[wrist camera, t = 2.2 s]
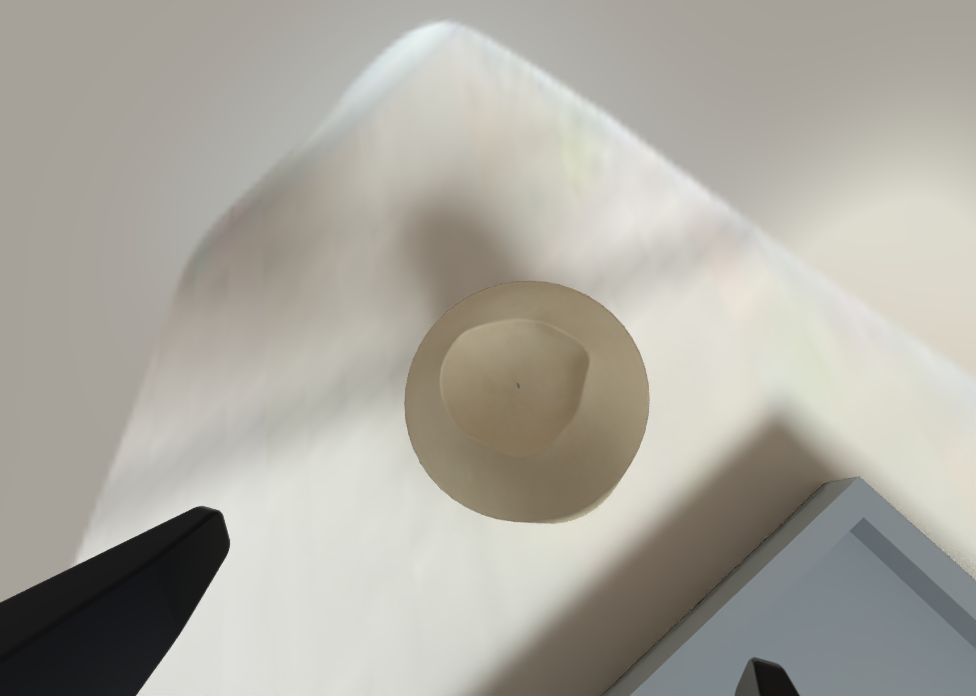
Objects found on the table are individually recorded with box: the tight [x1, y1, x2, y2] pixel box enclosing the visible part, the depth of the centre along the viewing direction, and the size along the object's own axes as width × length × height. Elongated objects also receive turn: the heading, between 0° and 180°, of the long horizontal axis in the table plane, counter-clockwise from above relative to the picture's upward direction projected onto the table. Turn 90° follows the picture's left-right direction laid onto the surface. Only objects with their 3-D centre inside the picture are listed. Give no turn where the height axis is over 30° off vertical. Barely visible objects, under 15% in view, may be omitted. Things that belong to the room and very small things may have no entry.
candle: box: [405, 281, 649, 524], centre depth 16 cm, size 6×6×10 cm
